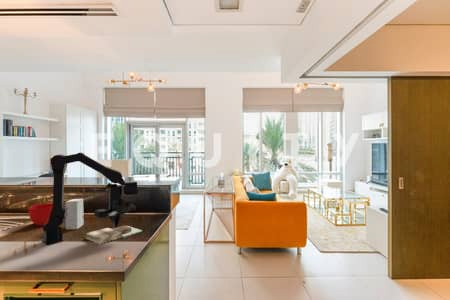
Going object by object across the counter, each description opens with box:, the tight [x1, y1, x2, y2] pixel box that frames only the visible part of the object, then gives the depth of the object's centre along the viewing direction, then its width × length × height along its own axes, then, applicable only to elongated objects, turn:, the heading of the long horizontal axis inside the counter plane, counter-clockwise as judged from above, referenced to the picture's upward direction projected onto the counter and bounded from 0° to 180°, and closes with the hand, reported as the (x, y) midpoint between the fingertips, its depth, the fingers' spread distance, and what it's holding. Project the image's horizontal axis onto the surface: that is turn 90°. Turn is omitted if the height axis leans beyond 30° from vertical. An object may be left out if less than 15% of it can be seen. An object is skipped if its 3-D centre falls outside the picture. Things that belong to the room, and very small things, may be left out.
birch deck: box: [85, 227, 123, 245], centre depth 122 cm, size 11×12×2 cm
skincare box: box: [65, 198, 85, 230], centre depth 138 cm, size 8×6×15 cm
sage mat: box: [122, 225, 143, 238], centre depth 132 cm, size 11×13×1 cm
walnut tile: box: [112, 225, 132, 234], centre depth 130 cm, size 7×6×2 cm
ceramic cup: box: [28, 203, 53, 227], centre depth 145 cm, size 13×17×10 cm
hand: (115, 227), depth 127 cm, fingers closed
